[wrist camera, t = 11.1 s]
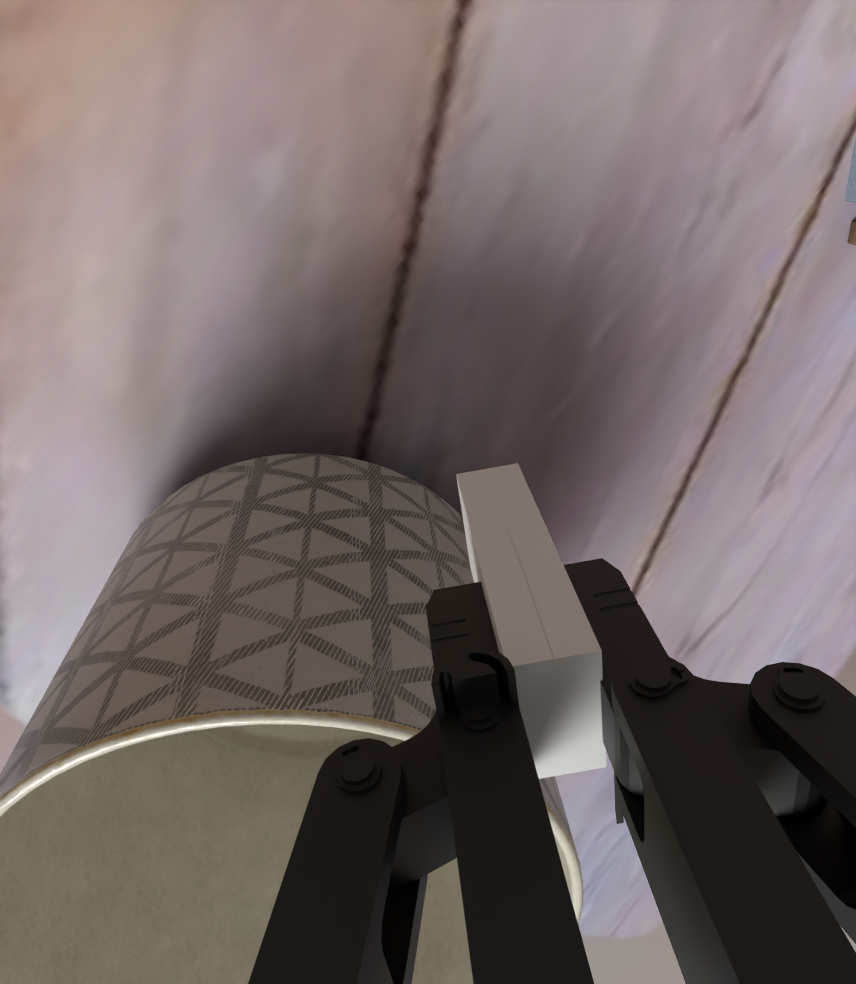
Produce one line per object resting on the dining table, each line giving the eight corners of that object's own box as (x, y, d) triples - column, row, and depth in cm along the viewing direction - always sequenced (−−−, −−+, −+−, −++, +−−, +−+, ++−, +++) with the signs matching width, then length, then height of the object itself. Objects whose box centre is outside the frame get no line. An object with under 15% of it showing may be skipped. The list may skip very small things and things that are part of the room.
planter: (562, 546, 49) (710, 866, 28) (364, 758, 57) (365, 1124, 37) (247, 347, 40) (122, 595, 20) (70, 631, 49) (-150, 1014, 28)
